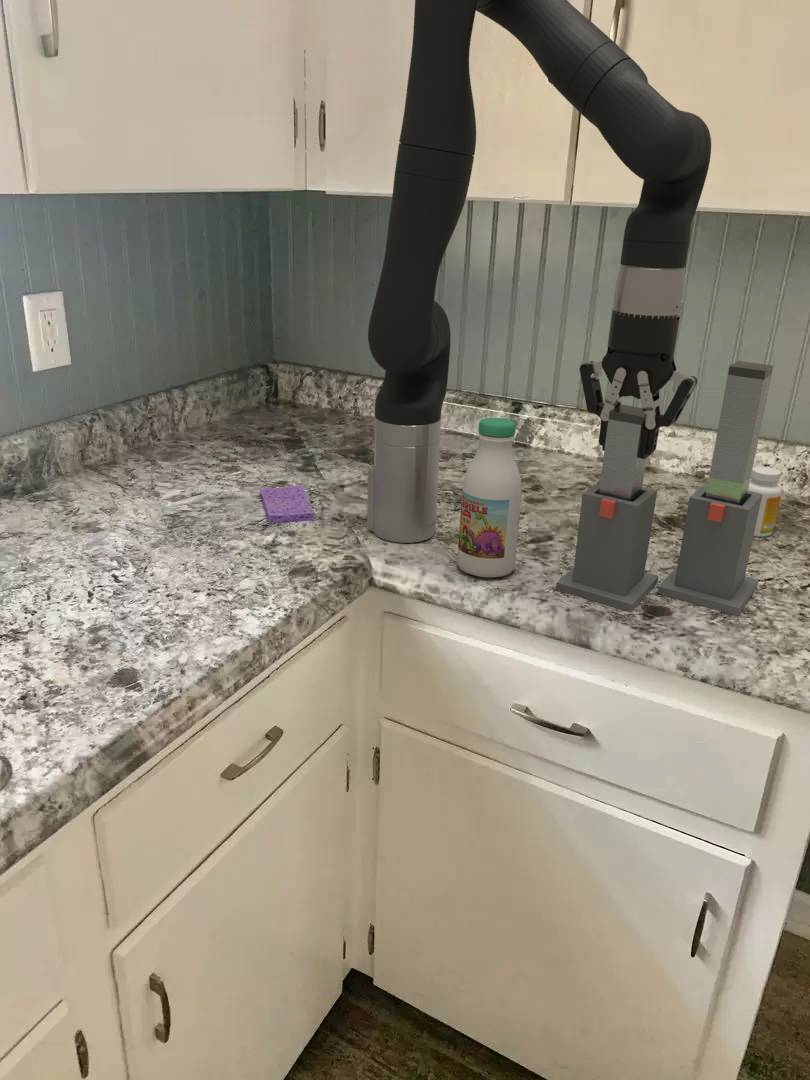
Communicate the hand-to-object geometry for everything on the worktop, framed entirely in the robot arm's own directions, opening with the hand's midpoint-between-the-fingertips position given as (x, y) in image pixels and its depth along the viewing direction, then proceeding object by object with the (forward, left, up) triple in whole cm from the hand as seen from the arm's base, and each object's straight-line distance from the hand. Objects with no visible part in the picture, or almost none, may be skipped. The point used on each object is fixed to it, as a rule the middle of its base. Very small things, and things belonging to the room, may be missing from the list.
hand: (626, 452), depth 101 cm
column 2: (+11, +7, -11) cm, 17 cm away
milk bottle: (-15, -5, -18) cm, 24 cm away
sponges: (-51, -4, -19) cm, 55 cm away
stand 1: (0, 0, -18) cm, 18 cm away
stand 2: (+11, +7, -18) cm, 22 cm away
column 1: (0, 0, -17) cm, 17 cm away
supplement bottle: (+11, +32, -18) cm, 38 cm away
